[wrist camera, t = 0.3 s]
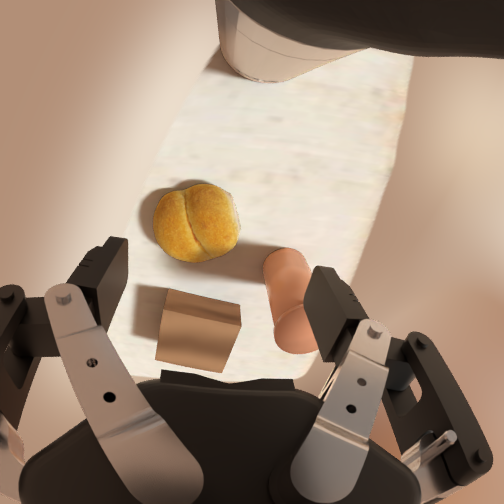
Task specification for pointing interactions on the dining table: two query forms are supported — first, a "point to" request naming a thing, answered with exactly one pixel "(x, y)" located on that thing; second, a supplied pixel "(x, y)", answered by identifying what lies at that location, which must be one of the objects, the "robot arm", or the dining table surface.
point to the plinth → (197, 331)
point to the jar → (289, 300)
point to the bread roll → (197, 223)
